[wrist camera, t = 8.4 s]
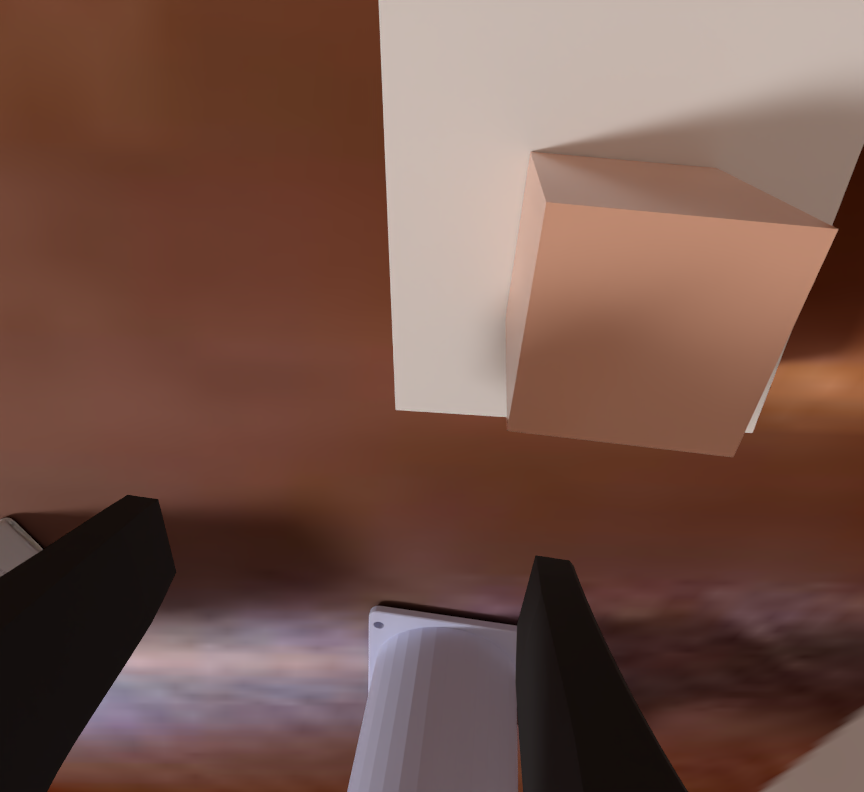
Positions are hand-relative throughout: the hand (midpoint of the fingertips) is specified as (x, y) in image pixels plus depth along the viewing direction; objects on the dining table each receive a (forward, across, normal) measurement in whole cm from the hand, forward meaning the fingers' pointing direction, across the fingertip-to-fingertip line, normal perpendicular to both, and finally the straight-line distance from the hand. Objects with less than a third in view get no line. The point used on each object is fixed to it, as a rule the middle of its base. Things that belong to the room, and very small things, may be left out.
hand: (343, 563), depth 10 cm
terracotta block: (+6, -5, -5) cm, 9 cm away
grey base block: (+10, -4, -5) cm, 12 cm away
